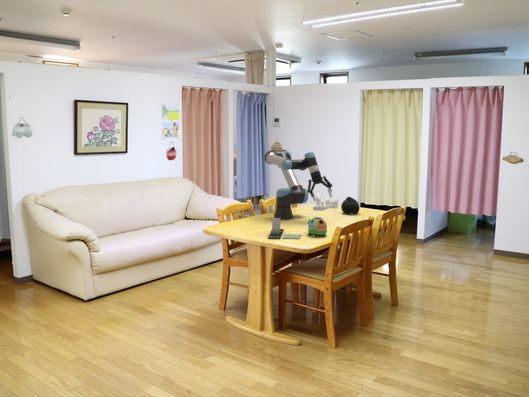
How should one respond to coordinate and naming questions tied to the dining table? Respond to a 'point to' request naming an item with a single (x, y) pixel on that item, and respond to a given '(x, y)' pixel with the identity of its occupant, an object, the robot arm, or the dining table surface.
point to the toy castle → (328, 203)
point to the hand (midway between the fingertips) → (323, 198)
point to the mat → (291, 236)
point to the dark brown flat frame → (275, 235)
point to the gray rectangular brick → (276, 226)
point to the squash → (350, 206)
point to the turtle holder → (317, 226)
